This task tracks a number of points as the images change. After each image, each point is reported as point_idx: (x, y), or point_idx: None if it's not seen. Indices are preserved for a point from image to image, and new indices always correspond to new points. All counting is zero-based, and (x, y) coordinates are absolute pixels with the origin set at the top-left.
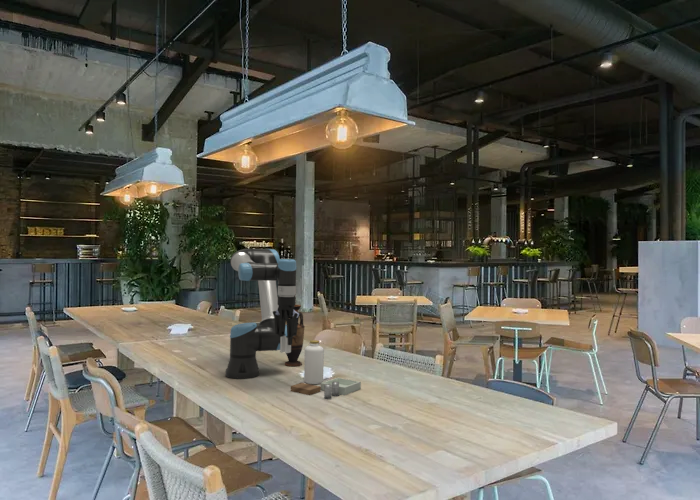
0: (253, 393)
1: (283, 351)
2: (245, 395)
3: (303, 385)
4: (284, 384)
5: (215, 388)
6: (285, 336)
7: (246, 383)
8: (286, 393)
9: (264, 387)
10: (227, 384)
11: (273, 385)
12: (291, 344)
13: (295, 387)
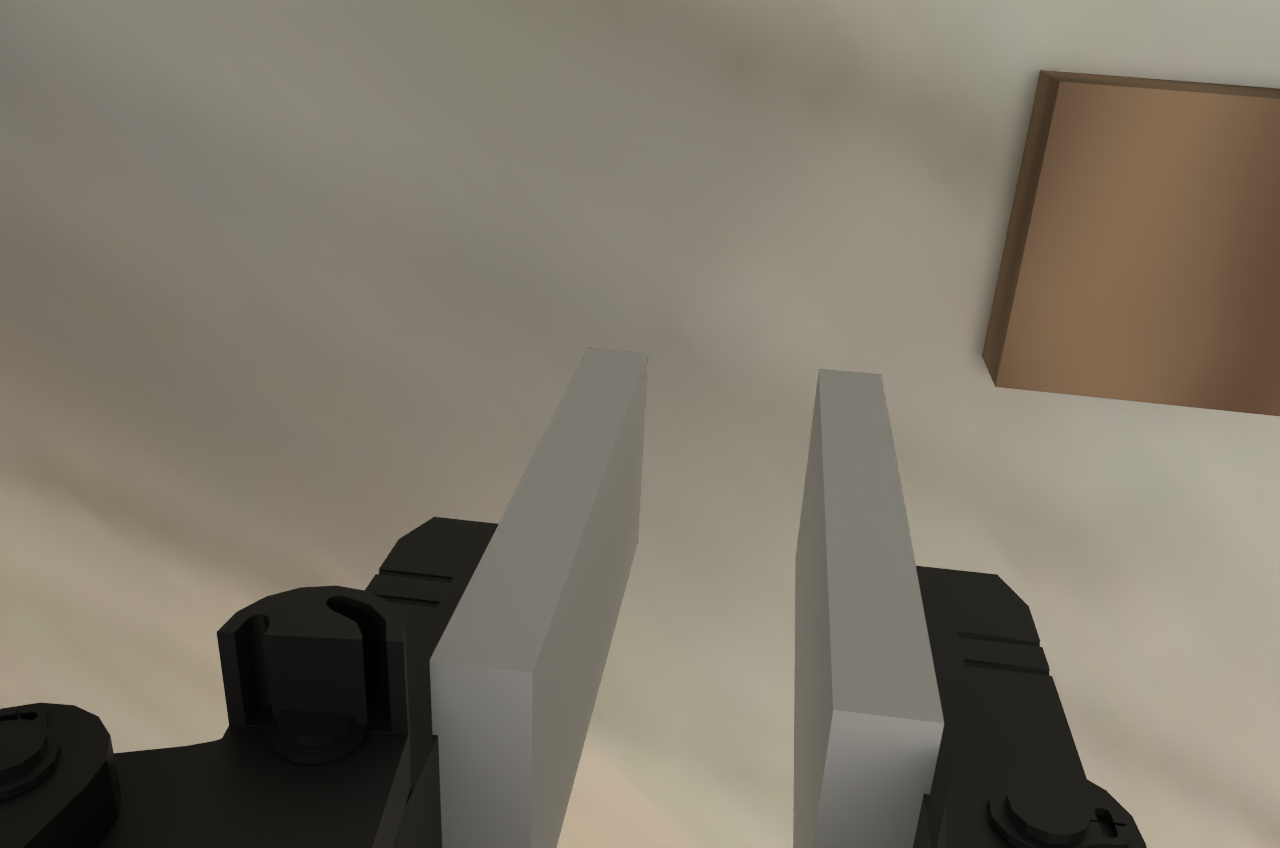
0: (604, 677)
1: (639, 464)
2: (586, 775)
3: (1193, 239)
4: (650, 64)
5: (87, 709)
6: (533, 701)
7: (149, 348)
8: (995, 484)
9: (513, 388)
10: (20, 515)
11: (542, 223)
12: (998, 614)
13: (1106, 395)
